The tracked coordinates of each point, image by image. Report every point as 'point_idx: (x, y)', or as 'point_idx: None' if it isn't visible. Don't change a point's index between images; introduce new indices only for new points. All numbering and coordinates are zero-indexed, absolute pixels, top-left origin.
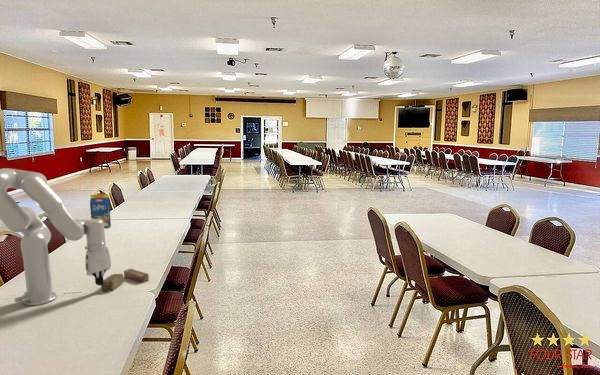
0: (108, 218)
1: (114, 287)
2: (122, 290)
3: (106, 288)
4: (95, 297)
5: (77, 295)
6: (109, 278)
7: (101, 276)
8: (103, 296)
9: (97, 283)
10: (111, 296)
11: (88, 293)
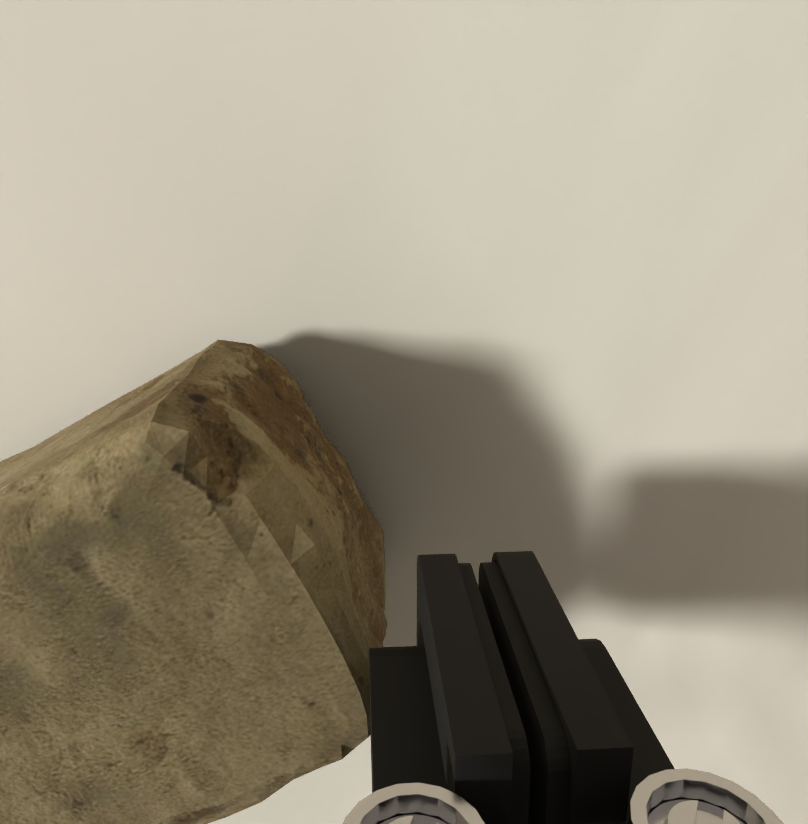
0: None
1: (133, 392)
2: (28, 169)
3: (337, 460)
4: (688, 338)
5: (789, 731)
6: (57, 762)
7: (483, 794)
8: (555, 230)
9: (591, 640)
10: (444, 41)
11: (619, 661)
